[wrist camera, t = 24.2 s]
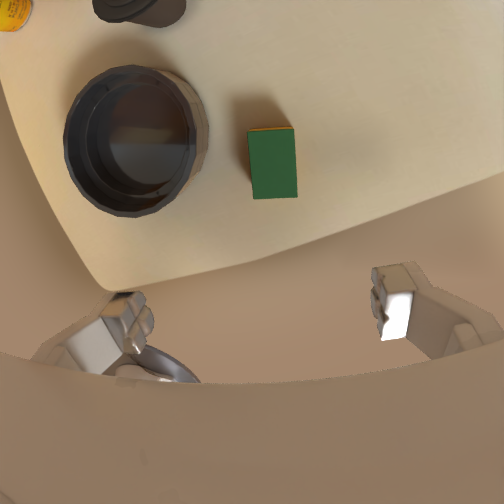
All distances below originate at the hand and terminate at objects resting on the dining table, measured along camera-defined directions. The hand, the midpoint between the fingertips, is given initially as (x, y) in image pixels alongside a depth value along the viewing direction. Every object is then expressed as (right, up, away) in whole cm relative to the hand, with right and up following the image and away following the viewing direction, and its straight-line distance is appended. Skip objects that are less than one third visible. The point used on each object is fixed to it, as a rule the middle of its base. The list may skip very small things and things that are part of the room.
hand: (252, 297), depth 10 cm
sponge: (+2, +12, +21) cm, 24 cm away
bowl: (-13, +15, +21) cm, 29 cm away
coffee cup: (-10, +29, +13) cm, 33 cm away
